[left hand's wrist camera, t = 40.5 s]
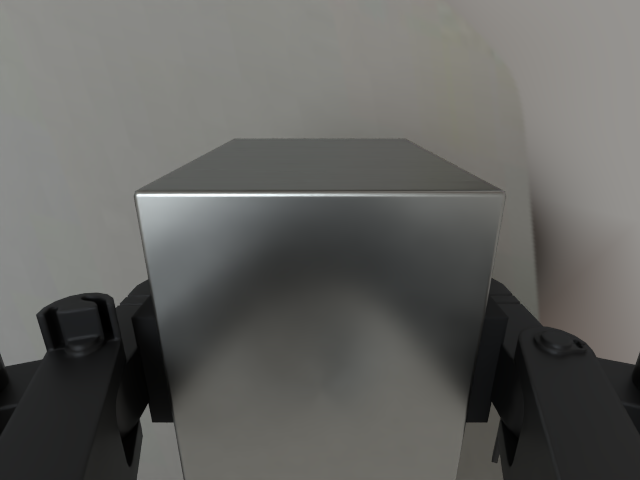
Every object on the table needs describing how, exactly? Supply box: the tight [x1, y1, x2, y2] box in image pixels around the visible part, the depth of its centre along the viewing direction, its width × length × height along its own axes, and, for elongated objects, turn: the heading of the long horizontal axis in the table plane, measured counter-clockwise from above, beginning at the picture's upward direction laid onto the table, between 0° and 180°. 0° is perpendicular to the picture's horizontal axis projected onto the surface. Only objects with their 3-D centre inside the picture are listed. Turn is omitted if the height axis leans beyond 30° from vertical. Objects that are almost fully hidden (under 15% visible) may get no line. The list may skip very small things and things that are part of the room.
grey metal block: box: [134, 139, 506, 480], centre depth 11 cm, size 6×8×8 cm
